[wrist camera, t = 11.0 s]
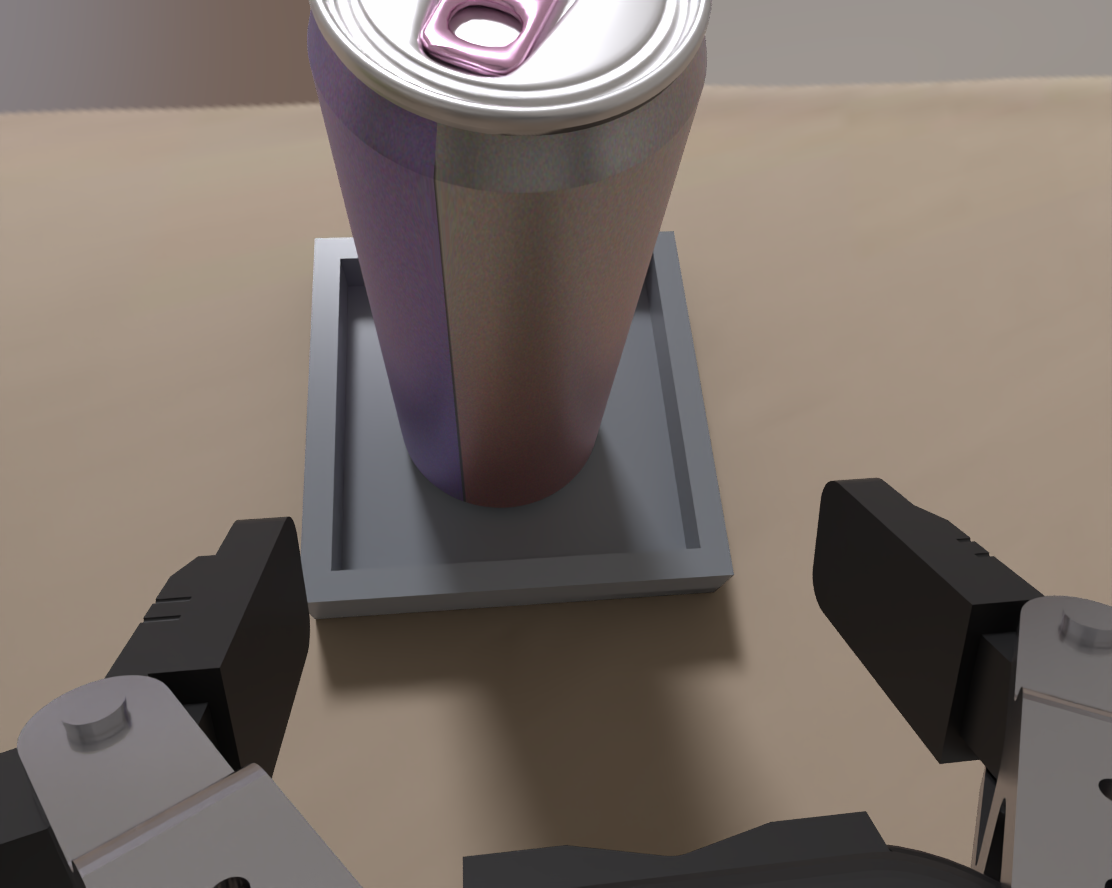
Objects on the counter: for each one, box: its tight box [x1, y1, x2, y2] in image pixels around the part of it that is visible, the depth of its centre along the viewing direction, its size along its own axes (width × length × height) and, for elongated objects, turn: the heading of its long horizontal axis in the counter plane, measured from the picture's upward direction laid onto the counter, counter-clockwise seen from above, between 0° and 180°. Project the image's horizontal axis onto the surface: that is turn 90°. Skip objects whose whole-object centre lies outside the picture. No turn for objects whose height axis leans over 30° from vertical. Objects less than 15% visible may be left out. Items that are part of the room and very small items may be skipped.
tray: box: [301, 231, 734, 619], centre depth 24 cm, size 12×12×2 cm
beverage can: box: [307, 0, 712, 508], centre depth 18 cm, size 6×6×15 cm
